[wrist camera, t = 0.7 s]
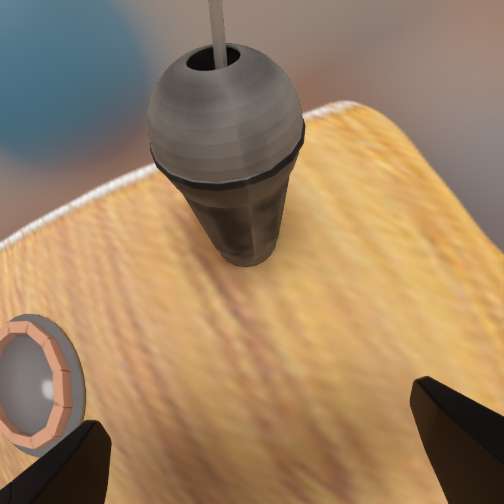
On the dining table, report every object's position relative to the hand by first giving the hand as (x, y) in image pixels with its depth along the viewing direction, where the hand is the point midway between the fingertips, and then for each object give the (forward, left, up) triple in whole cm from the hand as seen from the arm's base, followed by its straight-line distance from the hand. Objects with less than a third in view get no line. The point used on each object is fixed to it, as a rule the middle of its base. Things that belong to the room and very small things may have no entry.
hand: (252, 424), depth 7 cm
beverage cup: (+10, -6, -13) cm, 18 cm away
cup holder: (+11, +17, -13) cm, 25 cm away
